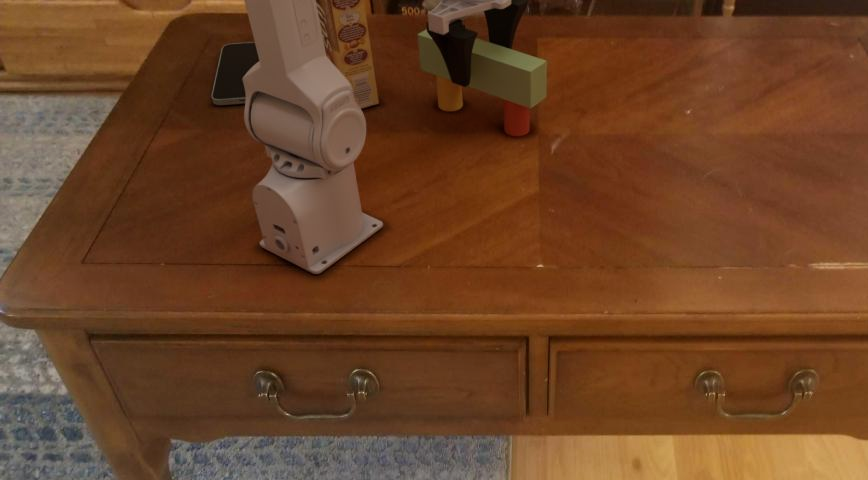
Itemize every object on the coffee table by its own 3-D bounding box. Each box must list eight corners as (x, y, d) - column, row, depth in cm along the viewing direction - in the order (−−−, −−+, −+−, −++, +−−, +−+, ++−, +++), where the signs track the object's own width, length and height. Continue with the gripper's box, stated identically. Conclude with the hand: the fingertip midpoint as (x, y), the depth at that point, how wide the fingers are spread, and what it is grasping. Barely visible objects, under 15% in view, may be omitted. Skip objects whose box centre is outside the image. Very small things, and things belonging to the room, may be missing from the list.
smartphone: (209, 100, 102) (222, 44, 113) (211, 107, 103) (223, 50, 113) (272, 95, 103) (279, 40, 114) (274, 102, 104) (280, 46, 114)
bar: (420, 70, 101) (417, 34, 98) (437, 60, 103) (434, 24, 100) (530, 108, 94) (530, 71, 91) (546, 97, 96) (547, 60, 93)
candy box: (381, 104, 104) (364, -20, 93) (348, 114, 102) (328, -12, 91) (351, 75, 109) (332, -45, 99) (320, 84, 107) (298, -38, 97)
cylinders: (520, 139, 98) (519, 104, 95) (433, 107, 103) (430, 73, 100) (534, 128, 100) (534, 93, 97) (448, 97, 105) (446, 63, 102)
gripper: (462, -19, 82) (469, 106, 91) (545, -62, 91) (544, 56, 100) (407, -35, 85) (419, 88, 94) (493, -75, 94) (496, 40, 103)
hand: (480, 70), depth 98 cm, fingers open, 7 cm apart
